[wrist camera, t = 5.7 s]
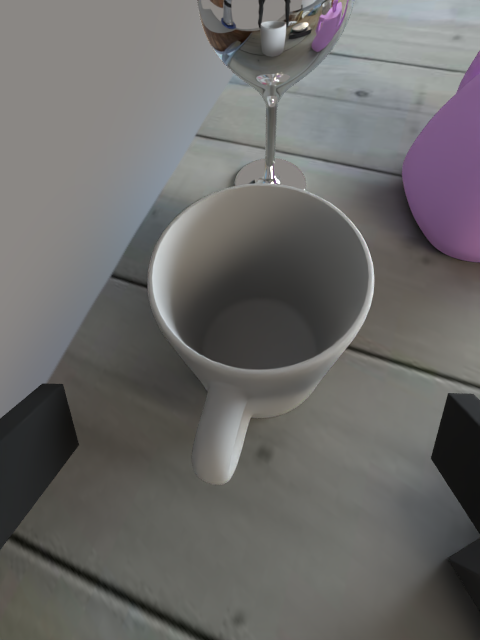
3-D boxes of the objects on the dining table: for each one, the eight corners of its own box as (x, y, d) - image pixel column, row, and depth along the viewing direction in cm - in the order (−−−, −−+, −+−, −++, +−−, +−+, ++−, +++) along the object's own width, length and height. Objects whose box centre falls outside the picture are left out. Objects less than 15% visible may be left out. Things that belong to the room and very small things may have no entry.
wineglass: (230, 228, 26) (177, -166, 9) (218, 160, 29) (164, -218, 13) (326, 212, 26) (439, -207, 10) (303, 147, 29) (358, -248, 13)
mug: (218, 289, 24) (188, 166, 14) (331, 314, 22) (389, 197, 12) (161, 453, 19) (51, 451, 9) (297, 498, 18) (345, 552, 8)
